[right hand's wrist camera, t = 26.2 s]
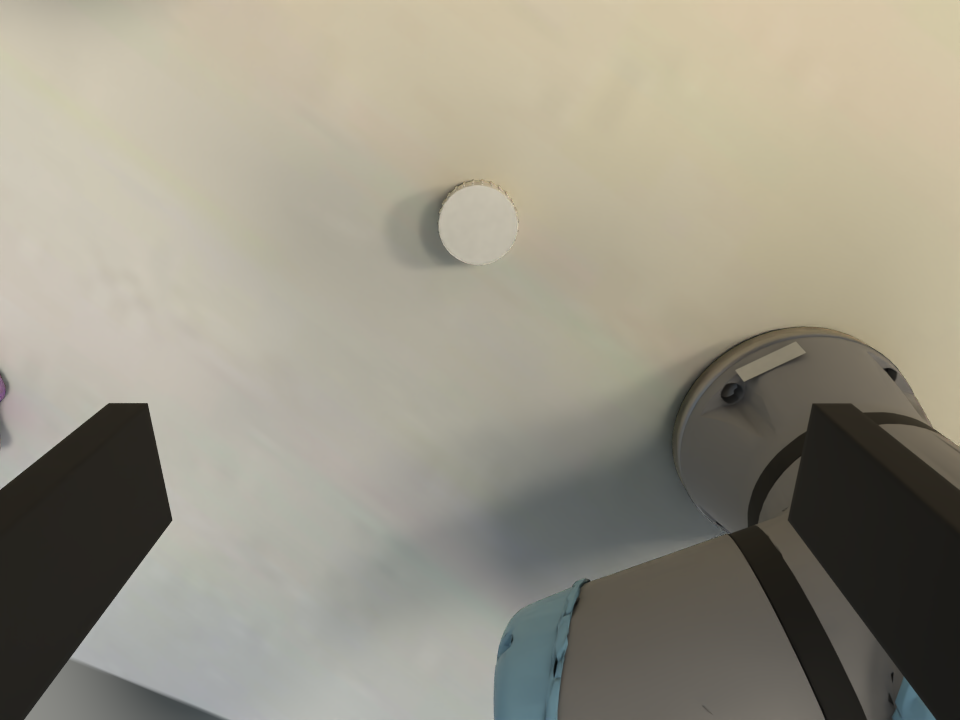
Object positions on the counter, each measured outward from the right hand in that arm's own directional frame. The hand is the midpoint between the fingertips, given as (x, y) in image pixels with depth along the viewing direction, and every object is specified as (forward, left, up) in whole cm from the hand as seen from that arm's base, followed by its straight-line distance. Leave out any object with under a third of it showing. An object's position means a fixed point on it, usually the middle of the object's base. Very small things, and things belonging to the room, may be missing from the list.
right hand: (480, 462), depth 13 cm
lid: (0, 0, -26) cm, 26 cm away
